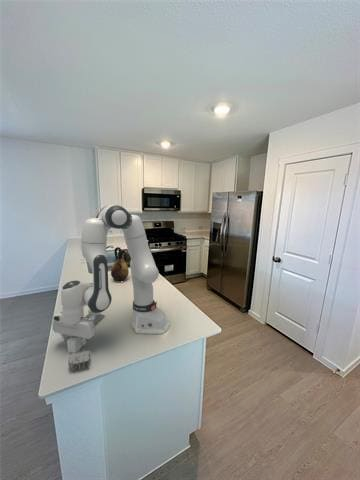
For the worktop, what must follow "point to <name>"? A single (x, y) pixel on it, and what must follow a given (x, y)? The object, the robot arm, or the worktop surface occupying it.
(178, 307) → the worktop surface
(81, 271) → the worktop surface
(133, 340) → the worktop surface
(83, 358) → the building frame
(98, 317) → the rail plate
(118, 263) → the ceramic jug
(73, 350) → the block
